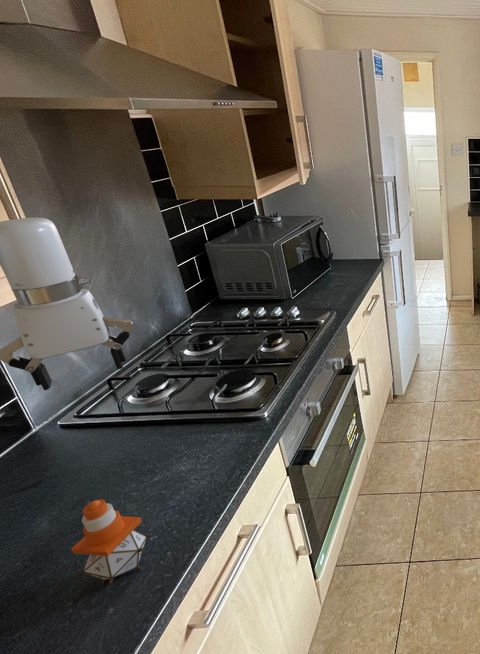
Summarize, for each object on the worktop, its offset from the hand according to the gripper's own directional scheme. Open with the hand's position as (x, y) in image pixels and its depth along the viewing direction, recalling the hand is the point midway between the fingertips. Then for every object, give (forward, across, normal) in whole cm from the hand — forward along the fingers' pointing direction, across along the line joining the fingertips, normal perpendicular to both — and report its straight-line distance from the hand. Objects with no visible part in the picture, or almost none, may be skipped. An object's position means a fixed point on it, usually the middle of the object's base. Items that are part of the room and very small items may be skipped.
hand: (85, 375), depth 77 cm
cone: (+20, +2, +20) cm, 29 cm away
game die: (+28, +2, +20) cm, 35 cm away
